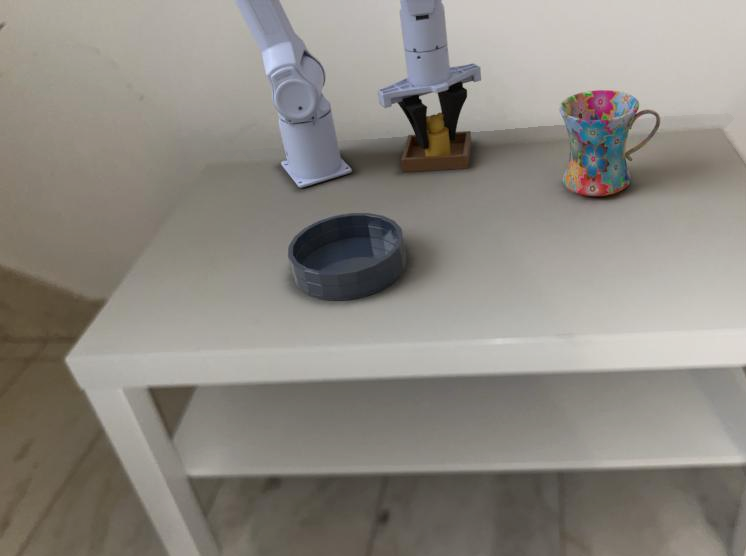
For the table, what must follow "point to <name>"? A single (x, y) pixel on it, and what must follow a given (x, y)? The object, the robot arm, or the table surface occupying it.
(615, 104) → the mug
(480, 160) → the table surface
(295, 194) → the table surface
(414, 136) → the tray
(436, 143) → the toy
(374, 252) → the bowl
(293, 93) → the robot arm
